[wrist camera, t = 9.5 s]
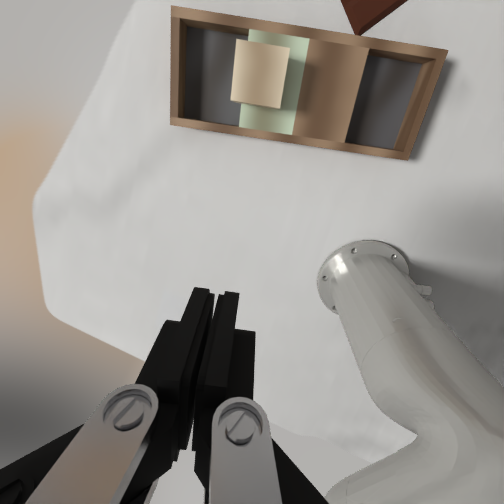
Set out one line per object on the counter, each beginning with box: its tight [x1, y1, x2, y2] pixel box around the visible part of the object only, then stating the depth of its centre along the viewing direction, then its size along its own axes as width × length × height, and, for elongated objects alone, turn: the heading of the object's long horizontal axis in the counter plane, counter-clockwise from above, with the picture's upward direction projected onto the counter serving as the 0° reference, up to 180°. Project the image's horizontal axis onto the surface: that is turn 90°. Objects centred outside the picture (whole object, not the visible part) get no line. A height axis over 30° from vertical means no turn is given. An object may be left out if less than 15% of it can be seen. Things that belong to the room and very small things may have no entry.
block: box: [231, 39, 290, 109], centre depth 26 cm, size 4×4×4 cm
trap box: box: [170, 5, 448, 161], centre depth 29 cm, size 26×10×3 cm, turn 82°
